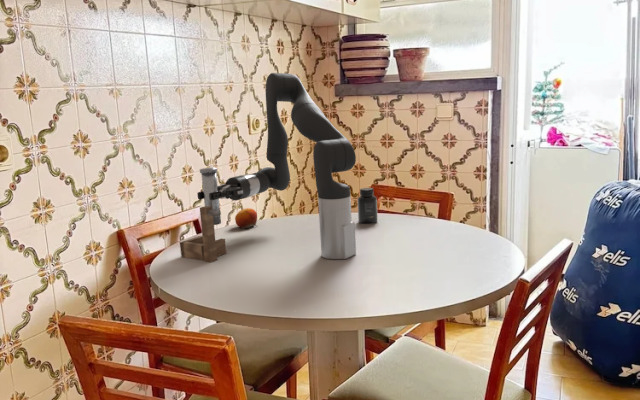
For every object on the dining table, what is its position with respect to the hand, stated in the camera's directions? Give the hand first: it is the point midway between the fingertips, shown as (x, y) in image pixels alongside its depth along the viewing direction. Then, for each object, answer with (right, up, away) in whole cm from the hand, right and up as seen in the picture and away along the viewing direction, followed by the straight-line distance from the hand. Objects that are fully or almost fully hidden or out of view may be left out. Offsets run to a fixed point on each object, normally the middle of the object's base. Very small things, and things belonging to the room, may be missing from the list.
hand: (204, 196), depth 169 cm
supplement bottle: (+52, -9, +33) cm, 62 cm away
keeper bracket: (+2, -18, 0) cm, 18 cm away
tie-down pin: (+2, -8, +4) cm, 9 cm away
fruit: (+8, -11, +36) cm, 38 cm away
